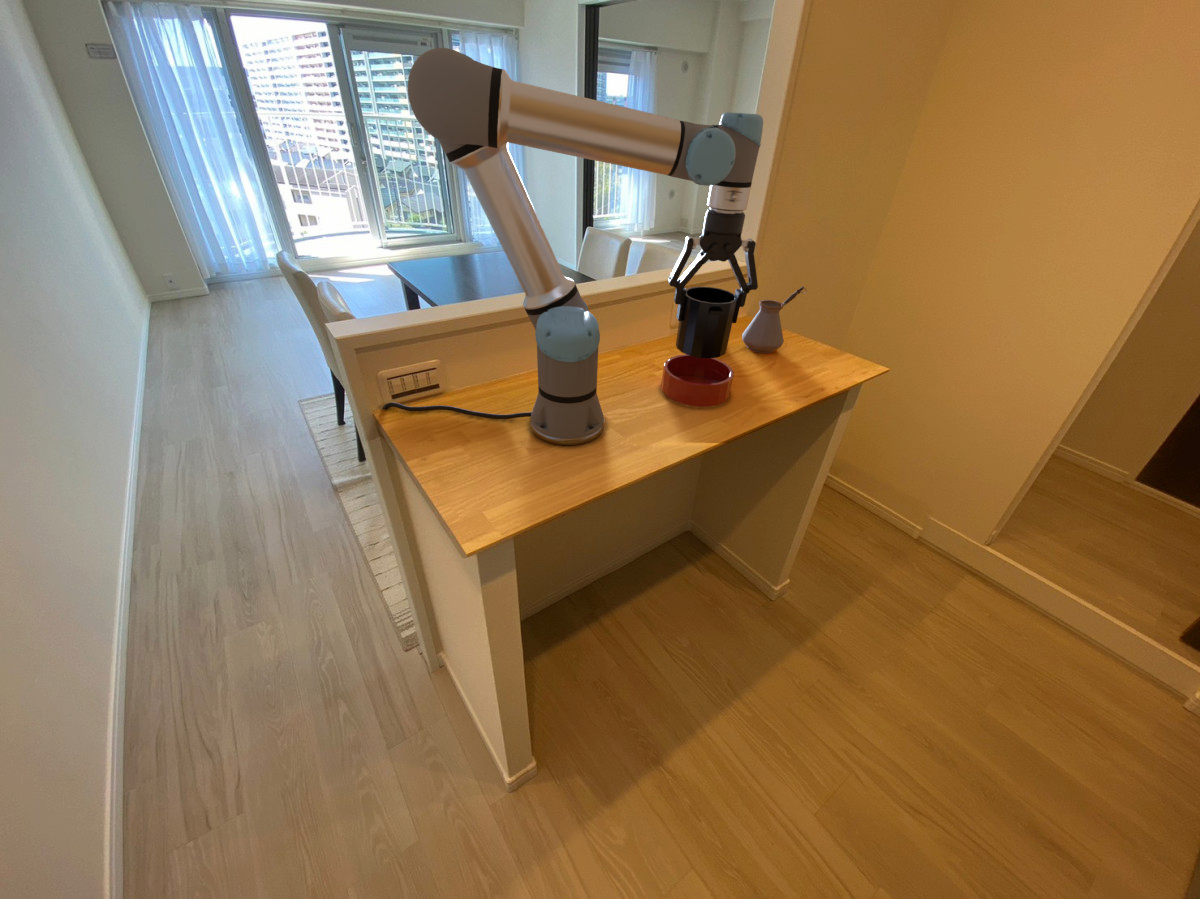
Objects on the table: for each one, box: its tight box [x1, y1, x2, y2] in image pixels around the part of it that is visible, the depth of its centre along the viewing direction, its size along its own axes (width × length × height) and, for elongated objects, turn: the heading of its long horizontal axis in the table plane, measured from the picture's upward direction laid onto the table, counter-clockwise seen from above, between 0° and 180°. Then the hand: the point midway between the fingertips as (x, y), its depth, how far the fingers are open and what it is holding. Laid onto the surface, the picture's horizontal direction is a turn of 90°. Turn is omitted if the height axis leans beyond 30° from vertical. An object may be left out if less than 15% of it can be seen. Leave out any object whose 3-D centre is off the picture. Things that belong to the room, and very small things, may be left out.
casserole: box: [660, 354, 735, 408], centre depth 116 cm, size 16×16×6 cm
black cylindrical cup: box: [675, 286, 738, 359], centre depth 107 cm, size 11×14×12 cm
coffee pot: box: [741, 286, 808, 354], centre depth 139 cm, size 21×12×15 cm, turn 130°
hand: (705, 319), depth 107 cm, fingers closed on black cylindrical cup, 11 cm apart
